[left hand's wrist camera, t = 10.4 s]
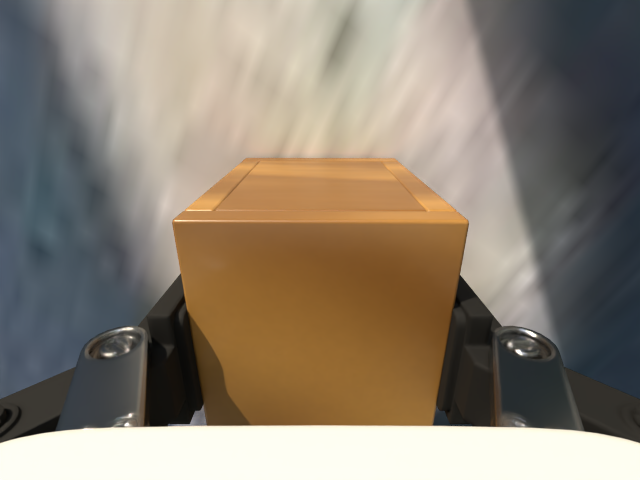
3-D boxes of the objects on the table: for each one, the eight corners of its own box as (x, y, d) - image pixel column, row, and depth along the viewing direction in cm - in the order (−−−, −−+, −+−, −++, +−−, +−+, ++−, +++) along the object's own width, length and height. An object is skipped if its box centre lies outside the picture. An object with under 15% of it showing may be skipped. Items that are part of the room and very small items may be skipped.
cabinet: (369, 458, 21) (395, 643, 14) (269, 458, 21) (243, 642, 14) (395, 158, 14) (471, 221, 7) (245, 157, 14) (169, 219, 7)
